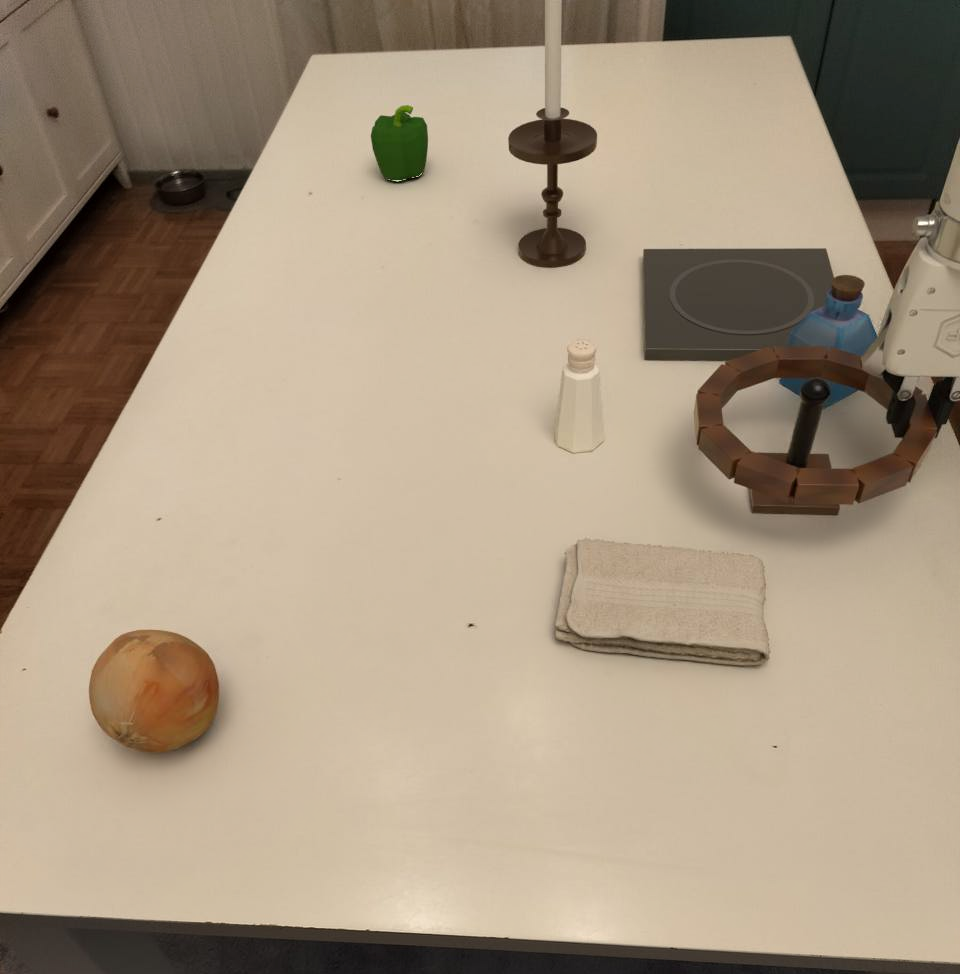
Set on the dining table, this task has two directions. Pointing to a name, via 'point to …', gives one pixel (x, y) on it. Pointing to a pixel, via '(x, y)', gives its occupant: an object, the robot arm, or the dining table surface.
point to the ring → (806, 481)
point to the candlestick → (552, 155)
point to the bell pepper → (400, 144)
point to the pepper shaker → (580, 401)
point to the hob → (728, 299)
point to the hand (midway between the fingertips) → (912, 427)
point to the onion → (154, 690)
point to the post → (801, 452)
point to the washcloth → (664, 603)
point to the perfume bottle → (835, 330)
